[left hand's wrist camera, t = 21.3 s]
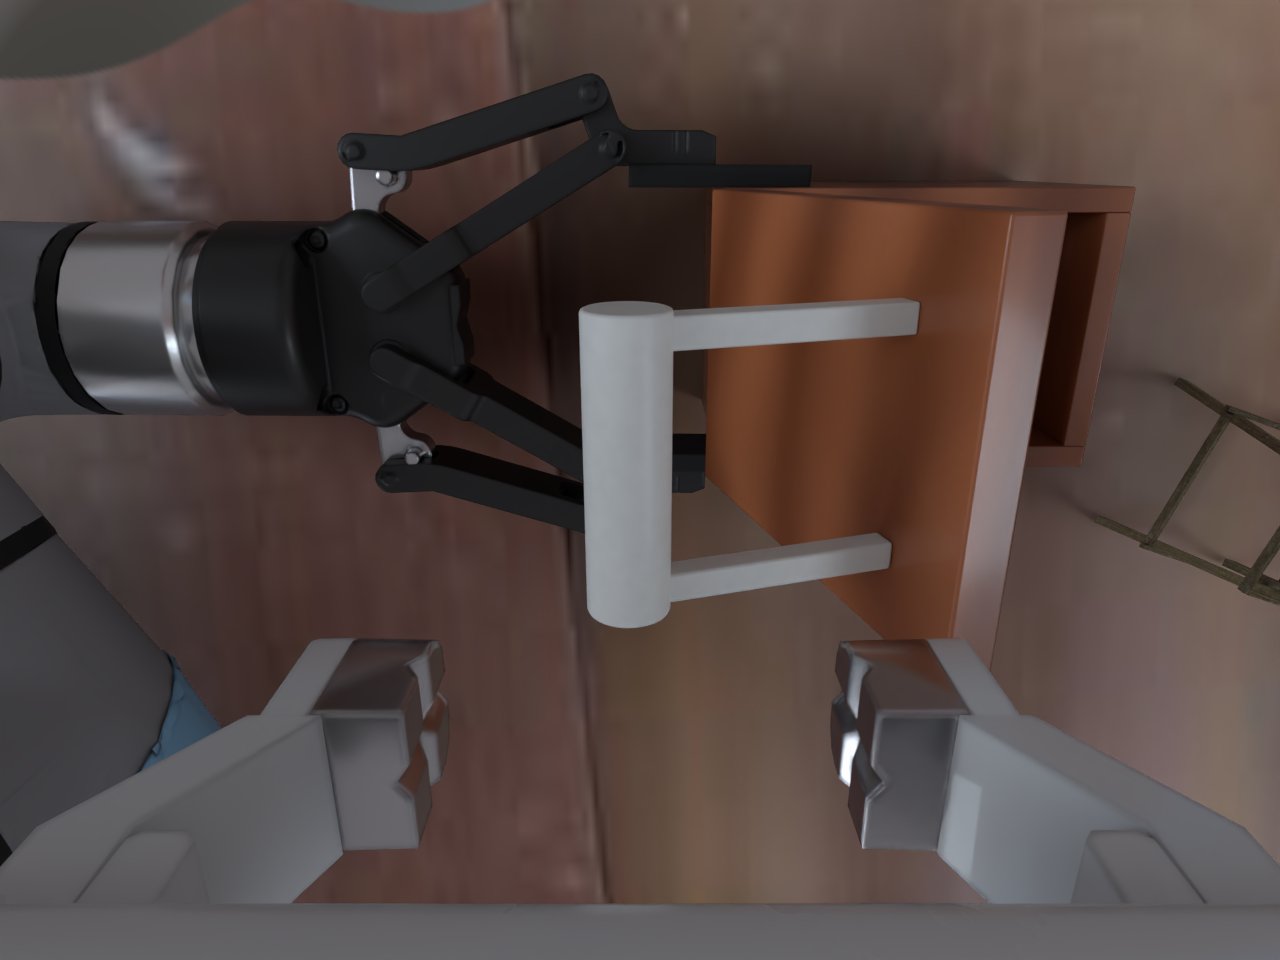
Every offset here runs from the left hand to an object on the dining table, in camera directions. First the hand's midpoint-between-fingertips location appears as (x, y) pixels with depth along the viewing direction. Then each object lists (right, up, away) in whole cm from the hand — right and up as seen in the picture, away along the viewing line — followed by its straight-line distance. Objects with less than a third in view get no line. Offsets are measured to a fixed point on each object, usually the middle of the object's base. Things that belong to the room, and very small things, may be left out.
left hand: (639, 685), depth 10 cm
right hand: (+6, +9, +23) cm, 25 cm away
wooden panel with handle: (+6, +5, +13) cm, 15 cm away
